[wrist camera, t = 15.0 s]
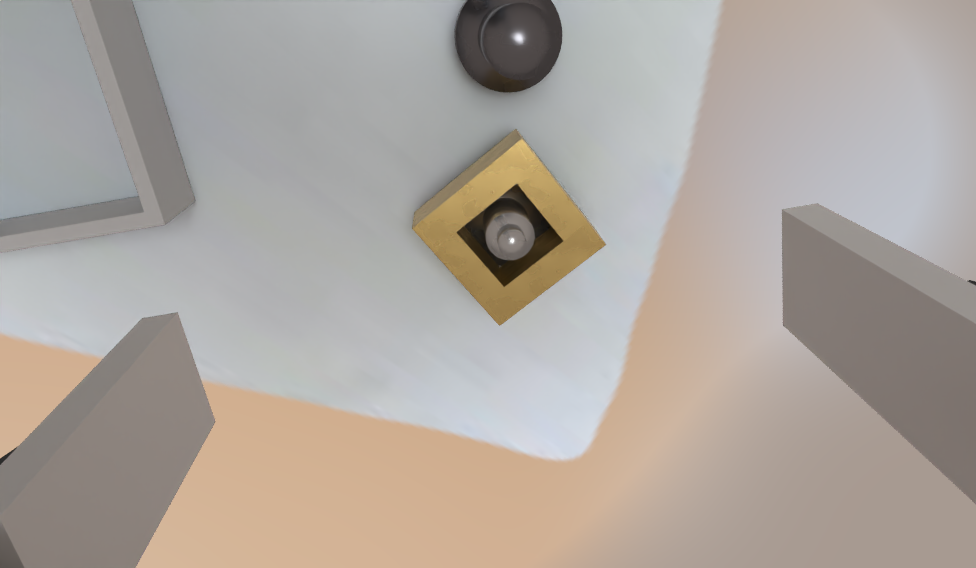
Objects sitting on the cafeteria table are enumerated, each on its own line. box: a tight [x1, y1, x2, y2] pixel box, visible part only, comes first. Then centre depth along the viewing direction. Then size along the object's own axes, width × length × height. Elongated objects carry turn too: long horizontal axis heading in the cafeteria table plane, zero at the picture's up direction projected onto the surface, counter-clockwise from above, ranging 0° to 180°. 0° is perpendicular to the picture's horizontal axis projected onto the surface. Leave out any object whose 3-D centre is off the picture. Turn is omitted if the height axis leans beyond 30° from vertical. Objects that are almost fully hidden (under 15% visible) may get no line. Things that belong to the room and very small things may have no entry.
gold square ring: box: [412, 129, 606, 326], centre depth 48 cm, size 9×9×4 cm
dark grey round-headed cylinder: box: [455, 0, 562, 92], centre depth 44 cm, size 7×7×10 cm
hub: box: [464, 184, 552, 266], centre depth 49 cm, size 7×7×8 cm
